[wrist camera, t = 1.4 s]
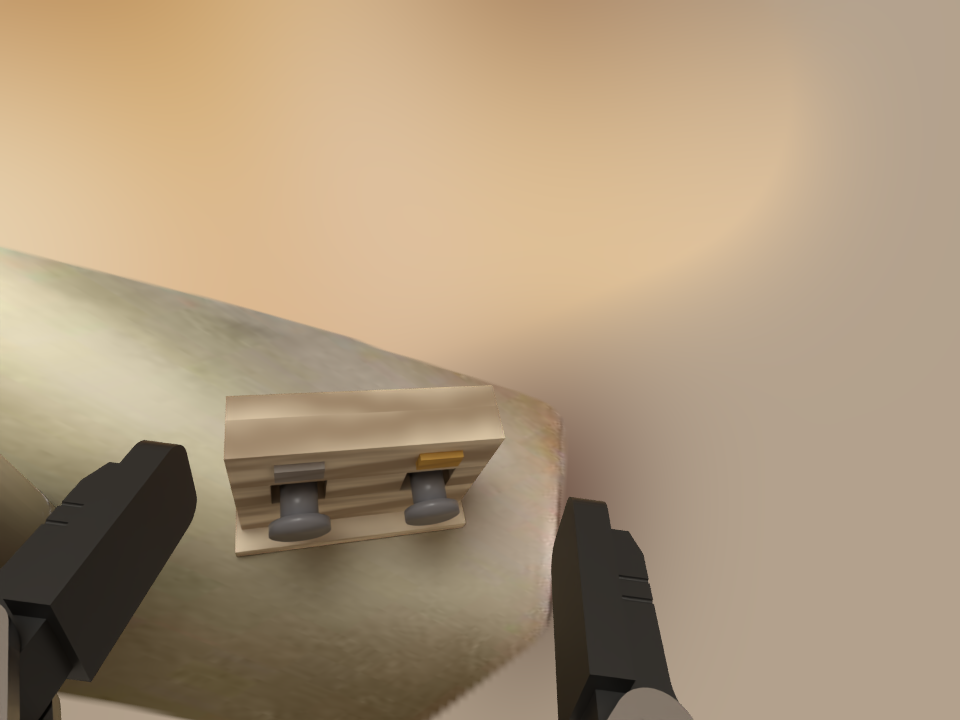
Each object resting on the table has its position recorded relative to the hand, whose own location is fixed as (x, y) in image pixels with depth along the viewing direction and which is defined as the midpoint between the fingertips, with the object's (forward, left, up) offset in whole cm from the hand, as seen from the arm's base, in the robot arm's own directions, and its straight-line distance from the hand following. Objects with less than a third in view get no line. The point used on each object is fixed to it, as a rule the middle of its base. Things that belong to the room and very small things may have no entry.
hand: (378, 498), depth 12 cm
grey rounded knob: (+15, +5, -38) cm, 41 cm away
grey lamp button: (+5, +11, -38) cm, 40 cm away
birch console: (+12, +11, -46) cm, 48 cm away
